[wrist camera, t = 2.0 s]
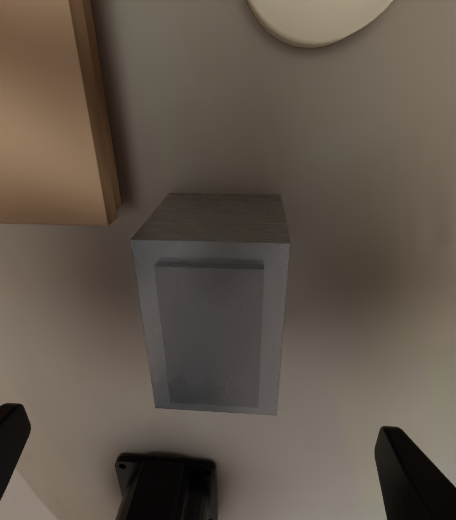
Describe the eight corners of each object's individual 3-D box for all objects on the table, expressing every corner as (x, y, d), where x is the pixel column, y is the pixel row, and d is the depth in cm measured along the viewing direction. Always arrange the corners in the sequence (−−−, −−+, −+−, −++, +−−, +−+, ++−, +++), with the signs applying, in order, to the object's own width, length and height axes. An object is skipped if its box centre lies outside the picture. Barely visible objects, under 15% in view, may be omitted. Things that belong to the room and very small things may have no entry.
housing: (272, 330, 17) (276, 422, 13) (181, 326, 18) (153, 414, 13) (280, 193, 14) (290, 247, 9) (169, 192, 14) (127, 244, 10)
